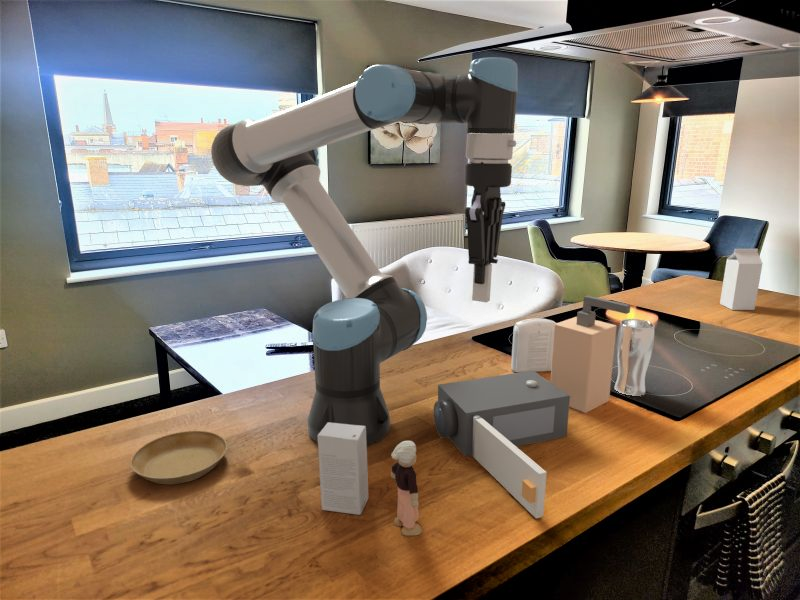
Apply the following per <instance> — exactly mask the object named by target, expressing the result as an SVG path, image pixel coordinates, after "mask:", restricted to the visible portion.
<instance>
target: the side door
mask: <svg viewBox="0 0 800 600" xmlns="http://www.w3.org/2000/svg"><path fill="white" fill-rule="evenodd" d="M471 456H472V457H473V458H474V459H475V460H476V461H477V463H479V464H480V465H481V466H482V467H483V468H484V469H485V470H486V471H487V472H489V474H490V475H491V476H492V477H493V478H494V479H496V481H498V483H499V484H500V485H501V486H503V488H504V489H505V490H506V491H508V493H509V494H511V495H512V496H513V498H514V499H515V500H517V502H519V504H521V505H522V506H523V507H524V508H525V509H526V510H527V511H528V512H529V513H530V514H531V515H532V516H533V518H535V519H539V518H542V517H544V513H545V512H544V509H545V499H546V488H547V486H546V485H547V471H546V470H544V469H543V468H542V467H541V466H540V465H539V464H538V463H537V462H535V461H534V460H533V459H532V458H530V456H528V455H527V454H526V453H524V452H523V450H521V449H519V447H518V446H515V445H514V444H512V443H511V442H510V441H509V440H508V439H506V438H505V437H504V436H503V435H502V434H500V433H499V432H498V431H497V430H496V429H495V428H493V427H492V426H491V425H490V424H489V423H487V422H486V421H485V420H484V419H483V418H481V417H480V416H477V415H476V416H474V417H473V442H472V455H471Z"/></svg>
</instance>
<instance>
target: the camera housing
mask: <svg viewBox="0 0 800 600" xmlns="http://www.w3.org/2000/svg"><path fill="white" fill-rule="evenodd" d="M569 402H570V395H568V394H567V393H565V392H564V391H562V390H561V389H560V388H558V387H557V386H555V385H554V384H552V383H551V381H550V380H548V379H546V378H545V377H543V376H542V375H540V373H538V372H535V371H526V372H515V373H514V372H512V373H506V374H501V375H494V376H488V377H487V376H486V377H479V378H474V379H473V378H472V379H465V380H459V381H454V382H453V381H452V382H446V383H439V384H437V401H435V402H434V405H433V422H434V426H435V430H436V431H437V433H438V435H439V437H441V438H442V439H446V438H447V439H449V440H450V441H451V440H452V443H453V445H455V446H456V448H457V449H458V450H459V451H460V452H461V454H462V455H463V456H464V457H468V456H472V442H473V417H474V416H476V415H477V416H480V417H481V418H483V419H484V420H485V421H486V422H487V423H489V424H490V425H491V426H492V427H493V428H495V429H496V430H497V431H498V432H499V433H500V434H502V435H503V436H504V437H505V438H506V439H508V440H509V441H510V442H511V443H512V444H514V445H515V446H516V447H520V446H525V445H530V444H535V443H542V442H546V441H551V440H556V439H561V438H567V436H568V423H569V413H570V412H569V411H570V407H569Z"/></svg>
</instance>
